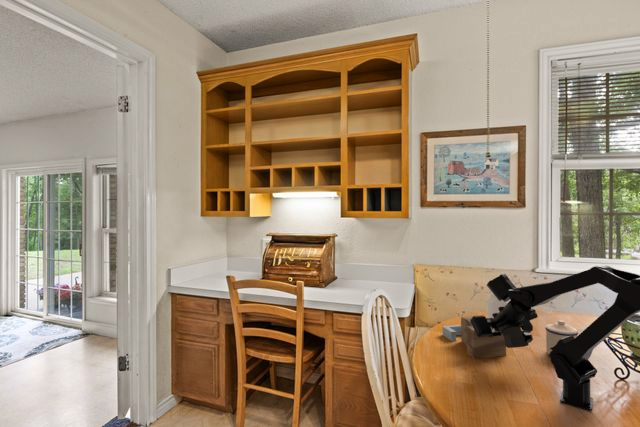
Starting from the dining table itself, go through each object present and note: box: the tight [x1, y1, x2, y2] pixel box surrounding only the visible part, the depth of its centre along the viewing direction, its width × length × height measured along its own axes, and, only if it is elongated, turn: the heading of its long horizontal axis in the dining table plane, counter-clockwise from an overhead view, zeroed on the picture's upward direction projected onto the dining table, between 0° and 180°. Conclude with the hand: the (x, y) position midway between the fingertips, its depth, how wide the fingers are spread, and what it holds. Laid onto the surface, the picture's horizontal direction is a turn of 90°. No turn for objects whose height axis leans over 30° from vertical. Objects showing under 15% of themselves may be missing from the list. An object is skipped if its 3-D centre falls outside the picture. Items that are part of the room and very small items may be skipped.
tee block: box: [460, 315, 507, 359], centre depth 122 cm, size 14×12×10 cm
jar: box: [486, 291, 510, 319], centre depth 145 cm, size 12×10×15 cm
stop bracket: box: [442, 324, 461, 342], centre depth 133 cm, size 6×11×4 cm, turn 99°
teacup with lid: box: [545, 319, 579, 355], centre depth 116 cm, size 12×9×12 cm
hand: (489, 335), depth 115 cm, fingers closed
